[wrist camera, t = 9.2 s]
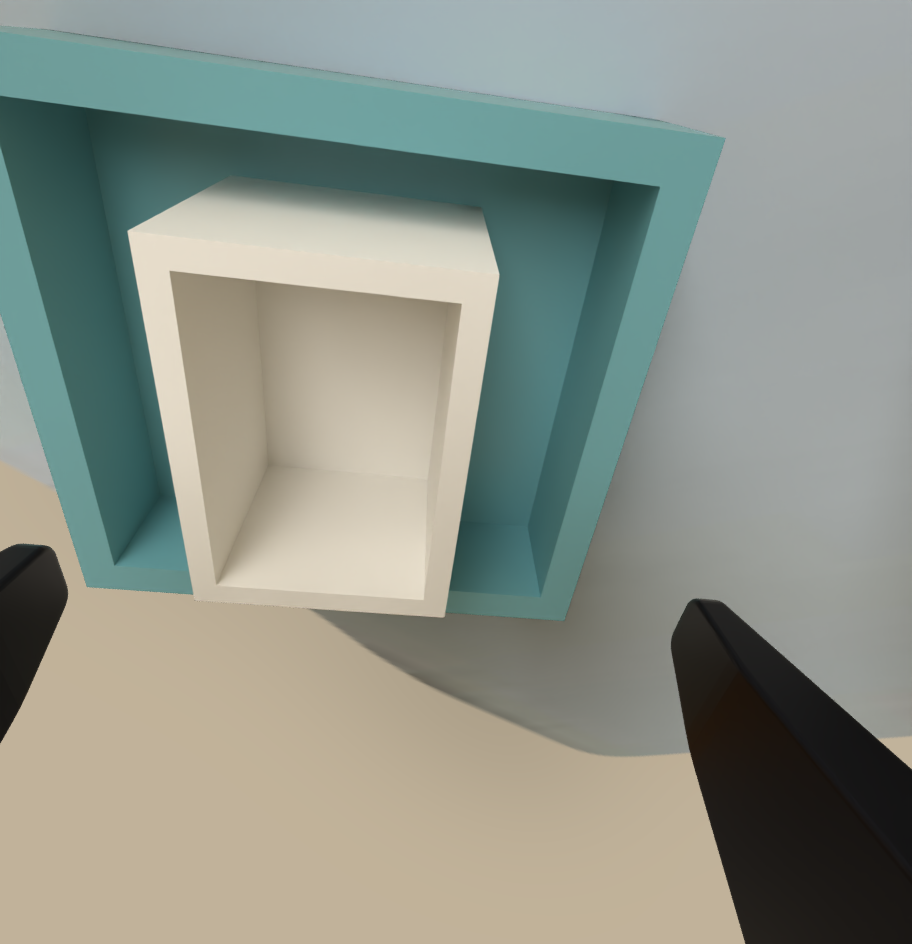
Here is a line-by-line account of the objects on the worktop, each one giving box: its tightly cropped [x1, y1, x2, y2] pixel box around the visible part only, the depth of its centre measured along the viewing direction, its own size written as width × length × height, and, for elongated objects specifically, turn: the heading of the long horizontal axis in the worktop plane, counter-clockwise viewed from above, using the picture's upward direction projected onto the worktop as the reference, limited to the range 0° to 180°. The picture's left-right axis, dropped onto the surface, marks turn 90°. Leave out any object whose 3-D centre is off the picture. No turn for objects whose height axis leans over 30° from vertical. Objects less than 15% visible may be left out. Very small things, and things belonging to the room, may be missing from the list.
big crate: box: [0, 26, 726, 621], centre depth 17 cm, size 15×14×4 cm
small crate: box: [127, 175, 500, 618], centre depth 15 cm, size 6×9×6 cm
